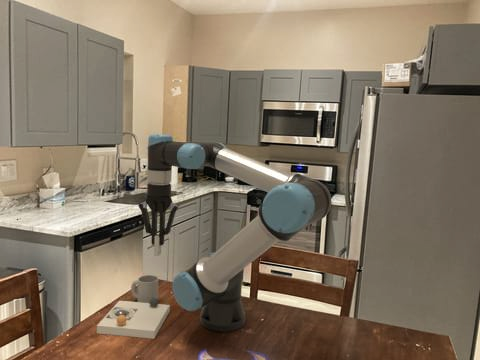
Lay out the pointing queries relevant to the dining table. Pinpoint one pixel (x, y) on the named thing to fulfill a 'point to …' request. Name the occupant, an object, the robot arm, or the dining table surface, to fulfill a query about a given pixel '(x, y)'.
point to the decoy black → (153, 302)
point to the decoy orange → (121, 319)
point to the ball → (120, 313)
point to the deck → (135, 320)
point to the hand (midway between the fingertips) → (157, 254)
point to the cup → (145, 288)
